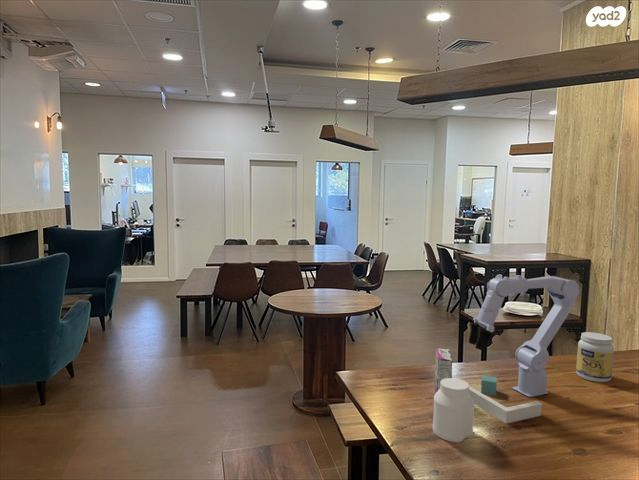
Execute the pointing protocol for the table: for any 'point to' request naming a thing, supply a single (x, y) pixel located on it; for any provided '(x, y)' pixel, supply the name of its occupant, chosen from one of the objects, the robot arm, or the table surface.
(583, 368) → the supplement tub
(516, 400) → the table surface
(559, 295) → the robot arm
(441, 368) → the candy bar box
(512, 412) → the white l-shaped block
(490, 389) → the cube
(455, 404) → the jar
